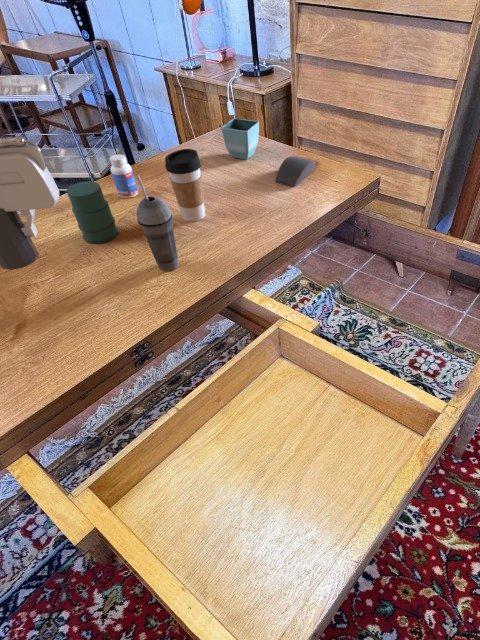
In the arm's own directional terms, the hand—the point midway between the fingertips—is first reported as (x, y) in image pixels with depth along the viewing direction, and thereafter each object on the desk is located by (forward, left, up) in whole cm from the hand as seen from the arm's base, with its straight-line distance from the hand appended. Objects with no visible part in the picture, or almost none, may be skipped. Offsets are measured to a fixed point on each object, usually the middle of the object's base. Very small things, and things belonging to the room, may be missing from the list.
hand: (6, 237), depth 69 cm
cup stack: (+2, +39, -22) cm, 44 cm away
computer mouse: (+55, +62, -22) cm, 86 cm away
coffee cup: (+25, +44, -22) cm, 55 cm away
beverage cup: (+19, +22, -22) cm, 36 cm away
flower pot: (+41, +79, -22) cm, 92 cm away
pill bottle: (+7, +60, -22) cm, 64 cm away
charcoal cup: (0, 0, -4) cm, 4 cm away
